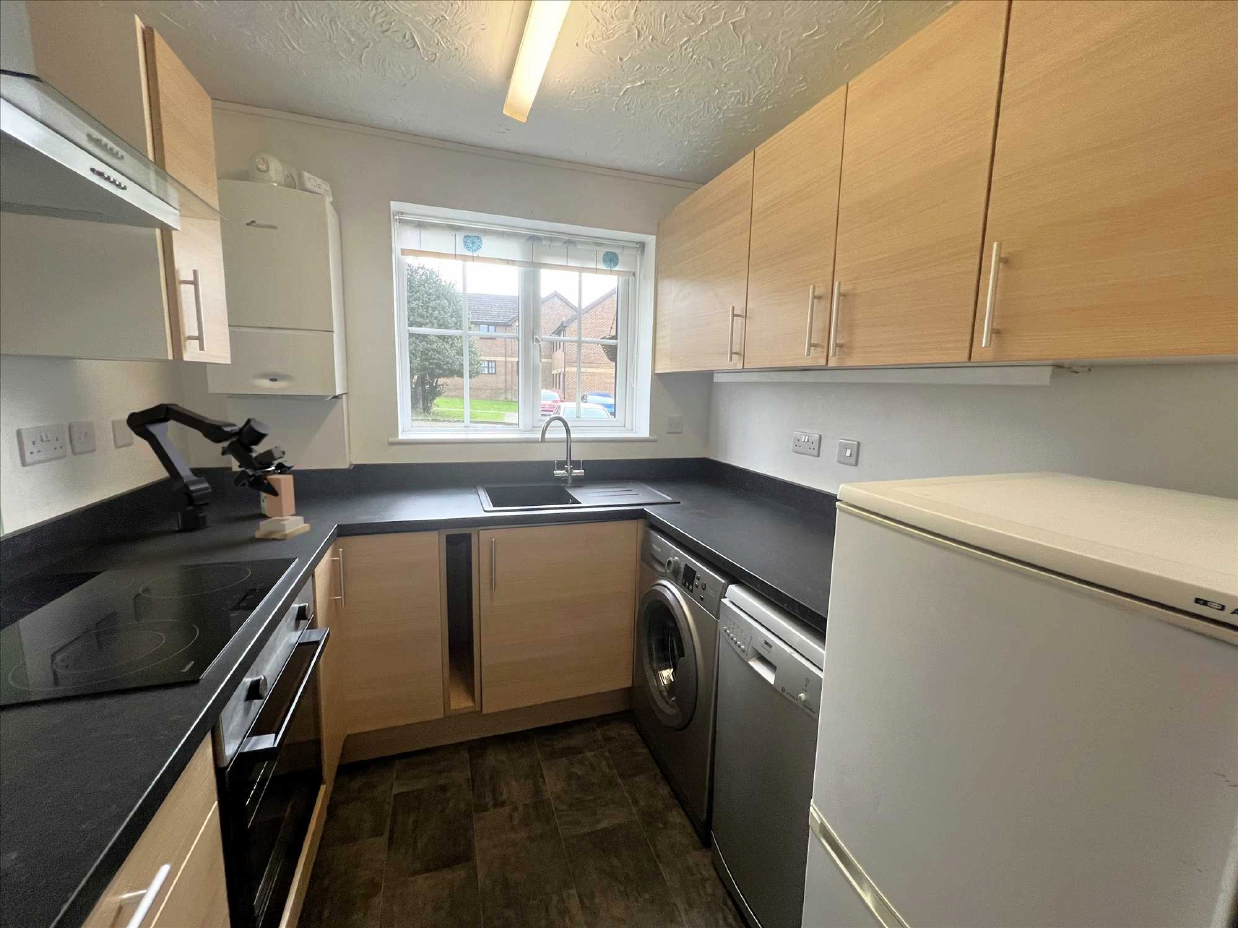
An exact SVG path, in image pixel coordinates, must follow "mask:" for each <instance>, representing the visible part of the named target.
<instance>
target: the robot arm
mask: <svg viewBox="0 0 1238 928" xmlns="http://www.w3.org/2000/svg"><path fill="white" fill-rule="evenodd" d="M171 421H174V422H176V423H179V424H181V425H183V426H185V427H187V428H190V429H193V430H195V431H198V432H200V433H201V434H202V436H203V438H204V439H207V440H209V441H210V442H212V444H213V443H214V444H223V443H228V444H227V445H226V446H222V447H221V452H220V456H225V457H226V456H232V458H233V459H234V460H235V461H236V462H237V463H238V465H237V468H238V469H239V470H240V471H238V473H237V474H236V475H235V476H234V477H233V478H232V479H231V481H232V482H231V483H232V486H234V487H235V488H236V489H238V490H239V489H242V488H245V487H246V488H247V489H251V490H255V491H258V492H260V491H261V492H264V493H267V494H269V495H272V496H275V497H278V496H279V493H278V492H277V491H276V489H275V488H274V487H273V486H272V485H271V484H270V482H269V481H268V480H267V477H269V476H273V475H288V473H289V472H290V471H291V470H292V469H293V468H294V466H295V465H294V464H293V463H292V461H290V460H284V461H279V462H277V463H276V462H275V461H278V460H280V459H284V458H285V455H286V450H285V449H284V448H282V447H281V446H280V445H276V446H274V447H272V448H269V449H267V450H265V451H257V450H256V449H255V448H254V447H257V446H260V445H261V444H262V442H263V441H264V440H265V439H266V438H267V437H268V436H269V435H270V433H272V429H271V427H270V426H269V425H268V424H266V423H264V422H262V421H260V420H257V419H256V418H255V417H248V418H247V419H246V421H245V422H244V424H243V425H242V426H241V427H240V426H238V425H237V424H236V423H234V422H230V421H225V420H219V419H218V420H217V419H212V418H209V417H207V416H204V415H202V414H199V413H197V412H195V411H192V410H189V409H186V408H185V407H183V406H181V405H179V404H177V403H174V402H165V403H162V402H161V403H158V404H157V405H154V406H153V407H149V408H146V409H145V408H144V409H142V410H138V411H133V412H130V413H129V414H128V416H127V418H126V421H125V422H126V425H127V427H128V428H129V430H131V431H132V433H133V434H134V435H135V436H137V437H139V438H140V439H142V440H144V441H146V443H147V444H148V445H149V447H150V448H151V450H152V451H153V452H154V454H155V455H156V457H157V458H158V460H159V462H160V464H161V465H162V466H163V468H164V469H165V471H166V473H167V474H168V475H169V477H170V479H171V480H172V482H173V489H172V493H173V495H174V499H172V501H171V502H170V503H169V504H168V505H167V507H168V509H169V511H170V513H175V515H176V522H177V527H176V528H173V529H172V530H173V531H174V532H175V531H176V532H196V531H199V530H202V529H205V528H208V527H211V524H208V523H207V513H205V508H207V507H209V505H210V504H211V503H210V502H211V499H212V496H213V491H212V486H211V485H210V484H208V481H207V480H206V478H205V477H204V476H203V477H197V476H195V475H194V474H193V473H192V471H191V470H190V469H189V467H188V465H187V463H186V462H185V461H184V459H183V458H182V456H181V455H180V453H179V451H178V450H177V448H176V446H175V445H174V443H173V442H172V441H171V439H170V437H169V436H168V429H169V426H168V423H169V422H171ZM272 466H273V467H272ZM246 482H247V484H248V485H247V484H246ZM246 485H247V486H246Z"/></svg>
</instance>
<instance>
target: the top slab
mask: <svg viewBox="0 0 1238 928" xmlns="http://www.w3.org/2000/svg"><path fill="white" fill-rule="evenodd" d="M304 524H305V523H304V516H295V515H293V516H292V515H289V516H286V517H270V518H268V519H266V520H263V521H260V522H259V530H260V531H283V532H286V531H289V530H291V529H294V528H296V527H299V526H301V525H304Z"/></svg>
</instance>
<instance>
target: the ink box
mask: <svg viewBox="0 0 1238 928" xmlns="http://www.w3.org/2000/svg"><path fill="white" fill-rule="evenodd" d="M259 492H260V506H261V507H260V508H261V509H260V510H261V514H263V515H266V516H268V513H267V500H266V493H264V492H261V491H259Z"/></svg>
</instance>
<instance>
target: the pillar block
mask: <svg viewBox="0 0 1238 928" xmlns="http://www.w3.org/2000/svg"><path fill="white" fill-rule="evenodd" d="M267 480H268V481H269V482H270V484H271V485H272V486H273V487H274V488H275V489H276V491H277V492H278V493H279V496H278V497H275V496H272V495H269V494H267V493H266V500H267V513H268V515H267V517H268V518H274V517H286V516H292V515H294V514H295V515H296V505H295V503H296V502H295V493H294V492H295V490H294V476H293V475H292V474H286V475H273V476H267Z"/></svg>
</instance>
